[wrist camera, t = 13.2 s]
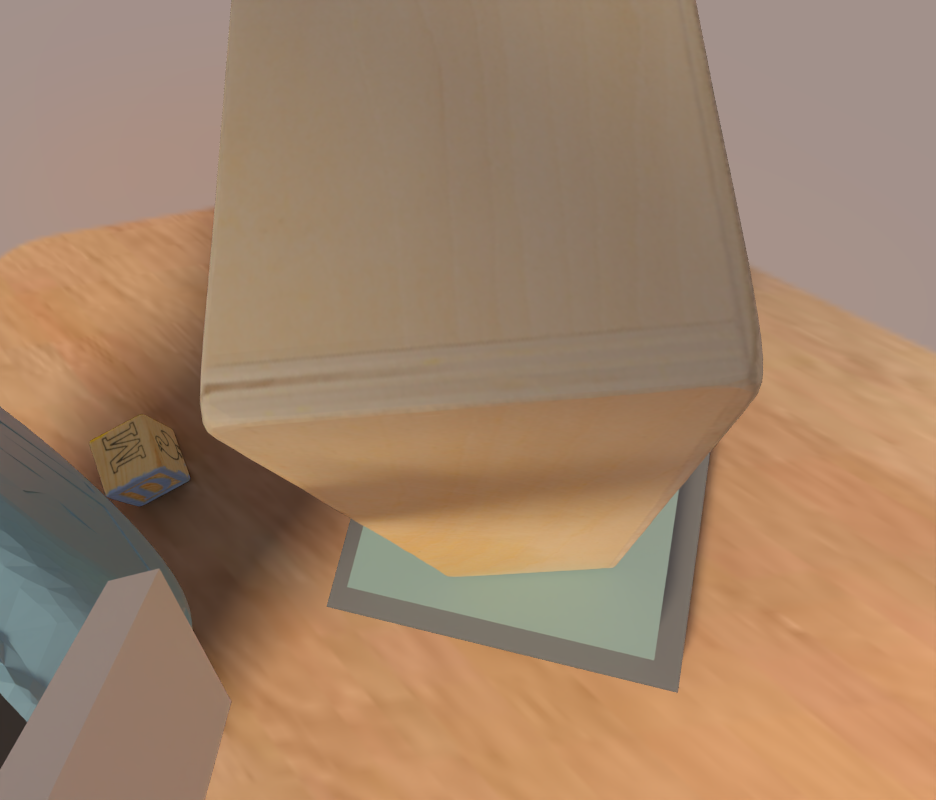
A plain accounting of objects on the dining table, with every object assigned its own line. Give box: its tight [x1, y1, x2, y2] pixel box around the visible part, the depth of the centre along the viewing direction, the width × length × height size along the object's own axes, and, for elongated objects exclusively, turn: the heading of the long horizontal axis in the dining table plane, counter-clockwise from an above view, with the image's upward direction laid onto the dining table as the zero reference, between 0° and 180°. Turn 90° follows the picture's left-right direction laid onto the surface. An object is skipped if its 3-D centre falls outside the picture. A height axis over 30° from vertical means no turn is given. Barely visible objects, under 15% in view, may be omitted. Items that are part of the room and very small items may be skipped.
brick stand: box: [327, 452, 710, 693], centre depth 32 cm, size 15×15×6 cm
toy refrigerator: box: [200, 0, 763, 577], centre depth 19 cm, size 8×7×21 cm
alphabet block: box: [89, 414, 190, 506], centre depth 35 cm, size 3×3×3 cm
